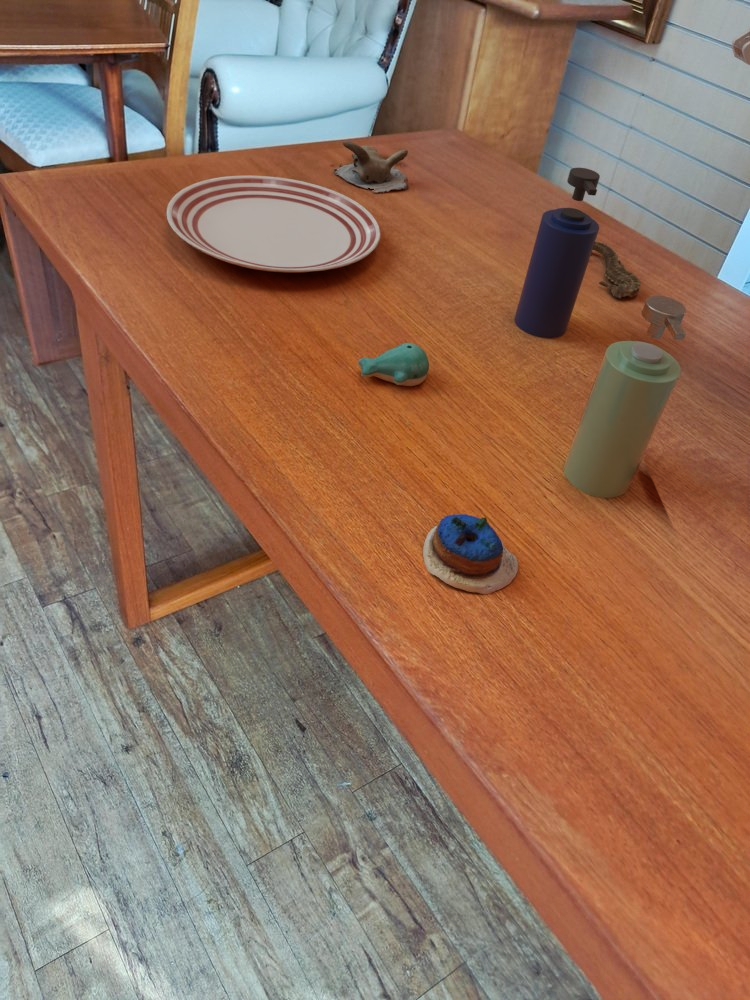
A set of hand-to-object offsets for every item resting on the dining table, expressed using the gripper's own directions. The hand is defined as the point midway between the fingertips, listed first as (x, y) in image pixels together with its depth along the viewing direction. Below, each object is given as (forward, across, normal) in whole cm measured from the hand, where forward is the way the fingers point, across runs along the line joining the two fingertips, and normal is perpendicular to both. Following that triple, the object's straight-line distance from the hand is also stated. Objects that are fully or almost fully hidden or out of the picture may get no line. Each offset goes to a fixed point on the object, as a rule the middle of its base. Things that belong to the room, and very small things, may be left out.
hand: (738, 54), depth 69 cm
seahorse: (+17, -25, +27) cm, 40 cm away
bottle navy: (+26, -10, +20) cm, 34 cm away
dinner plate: (+52, -25, -2) cm, 57 cm away
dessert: (+38, +30, +13) cm, 50 cm away
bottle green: (+27, +18, +21) cm, 39 cm away
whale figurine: (+41, +4, +9) cm, 43 cm away
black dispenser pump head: (+16, -8, +8) cm, 20 cm away
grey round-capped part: (+17, +20, +9) cm, 28 cm away
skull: (+40, -51, +6) cm, 65 cm away
